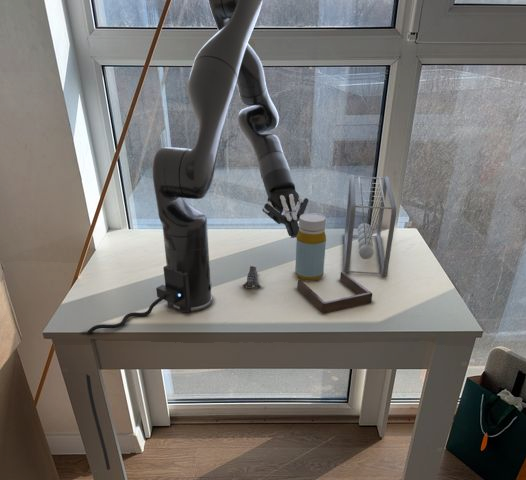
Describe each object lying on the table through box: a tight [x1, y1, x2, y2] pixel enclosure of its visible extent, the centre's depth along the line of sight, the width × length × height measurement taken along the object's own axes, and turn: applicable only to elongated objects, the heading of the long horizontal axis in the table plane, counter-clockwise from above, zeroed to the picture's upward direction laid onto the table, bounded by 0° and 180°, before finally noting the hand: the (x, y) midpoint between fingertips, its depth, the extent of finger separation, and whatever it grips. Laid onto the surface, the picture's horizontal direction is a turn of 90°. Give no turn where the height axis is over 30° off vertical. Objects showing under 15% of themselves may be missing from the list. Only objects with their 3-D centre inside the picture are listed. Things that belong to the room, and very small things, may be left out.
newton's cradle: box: [343, 174, 397, 277], centre depth 133 cm, size 30×10×18 cm, turn 172°
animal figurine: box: [242, 265, 262, 289], centre depth 121 cm, size 12×4×5 cm, turn 174°
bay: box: [296, 271, 373, 314], centre depth 117 cm, size 13×13×2 cm
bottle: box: [294, 212, 327, 282], centre depth 123 cm, size 7×7×15 cm
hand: (295, 236), depth 129 cm, fingers closed
